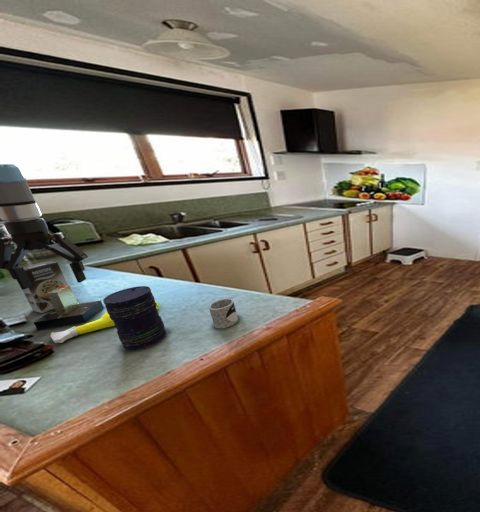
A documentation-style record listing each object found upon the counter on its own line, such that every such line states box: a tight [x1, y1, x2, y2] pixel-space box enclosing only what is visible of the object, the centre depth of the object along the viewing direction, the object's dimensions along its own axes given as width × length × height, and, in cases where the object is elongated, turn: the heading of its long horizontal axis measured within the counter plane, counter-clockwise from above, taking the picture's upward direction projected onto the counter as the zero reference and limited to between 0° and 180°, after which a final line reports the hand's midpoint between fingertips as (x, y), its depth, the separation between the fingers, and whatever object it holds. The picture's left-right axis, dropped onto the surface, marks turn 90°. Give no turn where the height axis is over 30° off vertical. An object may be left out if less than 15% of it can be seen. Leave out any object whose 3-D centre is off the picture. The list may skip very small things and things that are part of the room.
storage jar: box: [102, 285, 168, 352], centre depth 76 cm, size 10×10×15 cm
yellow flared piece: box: [50, 300, 160, 344], centre depth 88 cm, size 3×11×24 cm
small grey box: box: [47, 284, 79, 315], centre depth 89 cm, size 6×2×8 cm, turn 18°
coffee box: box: [22, 260, 69, 314], centre depth 97 cm, size 9×6×16 cm
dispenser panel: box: [32, 300, 105, 331], centre depth 91 cm, size 12×10×3 cm
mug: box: [208, 297, 239, 329], centre depth 86 cm, size 10×7×7 cm, turn 9°
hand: (55, 284), depth 87 cm, fingers open, 13 cm apart
